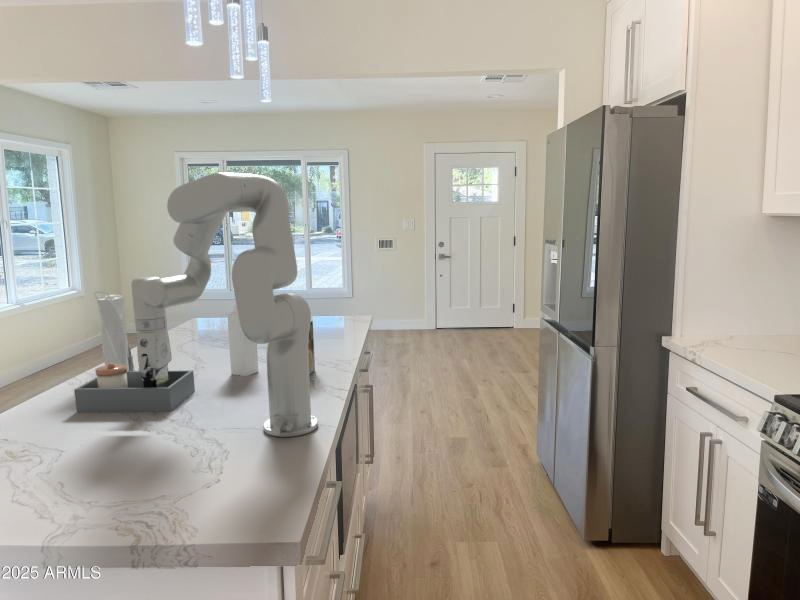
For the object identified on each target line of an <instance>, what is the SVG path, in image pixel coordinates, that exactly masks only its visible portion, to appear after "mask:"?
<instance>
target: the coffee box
mask: <svg viewBox="0 0 800 600" xmlns="http://www.w3.org/2000/svg"><path fill="white" fill-rule="evenodd" d="M313 324H314V322H313V320H311V323H310V331H309V341H308V353H309V374H310V375H311V374H312V373H314V372H315V371H316V364H315V363H316V362H315V344H314V343H315V341H314V325H313ZM314 370H315V371H314Z"/></svg>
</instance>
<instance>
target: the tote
mask: <svg viewBox="0 0 800 600" xmlns="http://www.w3.org/2000/svg"><path fill="white" fill-rule="evenodd" d="M194 375H195V374H194V370H191V369H190V370H189V369H188V370H186V369H185V370H168V379H169V387H157V388H144V384H143V381H142V377H141V375H140V373H139V372H138V370H135V371H127V383H128V388H98V382H97V376H96V377H95V378H93V379H91V380H89V381H87V382H85V383H84V384H81V385H80V386H78V387H76V388H74V399H75V407H76V408H75V409H76V413H77V414H78V413H140V412H141V413H150V412H151V413H152V412H153V413H155V412H156V413H161V412H163V413H164V412H171V413H172V412H173V411H174V410H175V409H176V408H177V407H179V406H180V405H181V404H182V403H183V402H185V400H187V399H188V398H190V396H192V394H194V393H195V392H196V388H195V376H194Z"/></svg>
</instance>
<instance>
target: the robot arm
mask: <svg viewBox="0 0 800 600" xmlns="http://www.w3.org/2000/svg"><path fill="white" fill-rule="evenodd" d="M166 205H167V206H166V208H167V213H168V215H169V217H170V218H171V219H172V220H173V221H174V222H176V223H178V224H179V225H178V227H177V229H176V231H175V234H174V236H173V241H172V242H173V244H174V246H175V247H176V248H177V249H178V250H179V251H180V252H181V253H183V254H184V255H186V256H188V257H189V261H188V262H189V263H188V264H187V266H186V269H185V271H184V273H183V274H178V275H172V276H166V277H159V276H154V275H153V276H151V275H150V276H139V277H135V278H134V279H132V281H131V285H130V286H131V296H132V304H133V305H132V306H133V307H132V308H133V316H134V317H133V318H134V326H135V327H134V328H135V329H134V330H135V332H136V333H137V336H136V337H137V339H136V340H137V341H136V344H137V345H136V346H137V347H136V348H137V350H136V351H137V363H138V364H137V365H138V370H137V371H138V372H139V373H140V375H141V377H142V381H143V384H144V388H157V381H156V380H155V370H158V369H160V368H162V367H163V366H165V365H167V370H168V371H169V367H168V365H169V363H170V362H171V361H172V359H173V358H172V357H173V356H172V350H171V349H172V348H171V344H170V343H171V341H170V337H169V332H168V324H167V313H166V311H167V309H168V308H172V307H176V306H182V305H185V304H186V305H187V304H191V303H193V302H195V301H197V300H199V298H200V297H201V296H202V294H203V293H204V291H205V289H206V288H207V285H208V283H209V281H210V279H211V275H212V262H211V257H210V254H209V251H210V249H211V247H212V244H213V242H214V240H215V238H216V236H217V233H218V232H219V229H220V227H221V225H222V223H223V221H224V219H225V216H226V214H227V213H244V212H250V213H251V212H253V213H255V215H254V218H253V219H252V225H251V226H252V228H251V229H252V230H251V231H252V238H253V245H254V248H250V249H247V250H243V251H241V252H240V254H238V255H237V256H236V257H235V259H234V262H233V265H232V270H231V279H232V287H233V293H234V298H235V305H237V311H238V316H239V321H240V325H241V328H242V331H243V333H244V334H245V336H246V337H247V338H248V339H249V340H250V341H252V342H254V343H257V345H258V344H259V345H264V344H267V347H266V375H267V378H266V379H267V391H268V392H267V393H268V408H269V411H268V412H269V414H268V415H269V419H266V421H264V423H263V425H262V427H263V431H264V432H265V433H266V434H267V435H269V436H271V437H272V436H273V437H280V438H289V437H290V438H291V437H292V438H293V437H298V436H302V435H306V434H309V433H311V432H313V431H314V430H316V428H318V425H319V420H318V418H317V417H316V416H314V415H312V407H311V406H312V405H311V385H310V381H311V380H310V375H309V353H308V341H309V331H310V323H311V321H312V315H311V314H312V312H311V308H310V306H309V304H308V301H307V300H306V299H305V298H304V297H303V296H301V295H299V294H296V293H292V292H286V293H280V294H275V295H274V290H278V289H281V288H286V287H288V286H290V285H292V284H293V283H294V282H295V281H296V279H297V276H298V263H297V257H296V252H295V246H294V239H293V233H292V229H291V221H290V211H289V210H290V207H289V202H288V196H287V194H286V192H285V190H284V188H283V187H282V185H280V183H279V182H277V181H276V179H275V180H274V179H273V178H271V177H268V176H266V175H261V174H256V173H254V174H253V173H245V172H244V173H243V172H242V173H241V172H239V173H238V172H224V171H223V172H221V171H220V172H214V173H210V174H207V175H204V176H202V177H199V178H196V179H194V180H191V181H188V182H186V183H183V184H181V185H178V186H177V187H175V188H174V189H173V190H172V191H171V193H170V195H169V197H168V198H167V203H166ZM149 366H151V368H147V367H149ZM147 371H151V375H150V373H149V372H147Z"/></svg>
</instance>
